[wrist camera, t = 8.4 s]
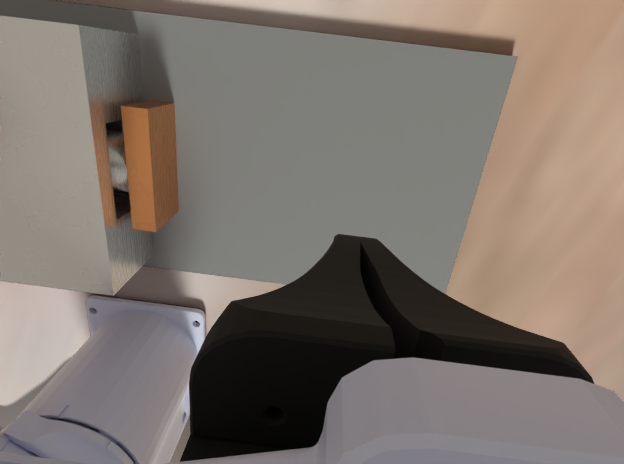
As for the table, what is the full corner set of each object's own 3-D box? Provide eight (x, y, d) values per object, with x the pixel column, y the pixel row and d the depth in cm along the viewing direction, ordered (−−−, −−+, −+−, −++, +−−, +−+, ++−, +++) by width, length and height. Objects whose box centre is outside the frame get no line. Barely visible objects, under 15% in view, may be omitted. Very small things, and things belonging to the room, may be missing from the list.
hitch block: (154, 253, 23) (113, 295, 19) (58, 241, 23) (-4, 280, 19) (138, 34, 18) (78, 25, 14) (16, 19, 18) (-81, 5, 14)
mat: (439, 298, 24) (441, 304, 23) (36, 247, 24) (30, 251, 23) (512, 56, 18) (518, 56, 17) (-19, -8, 18) (-30, -10, 18)
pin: (174, 102, 19) (147, 109, 16) (178, 211, 22) (155, 232, 19) (-58, 74, 19) (-124, 75, 17) (-28, 184, 22) (-80, 202, 19)
